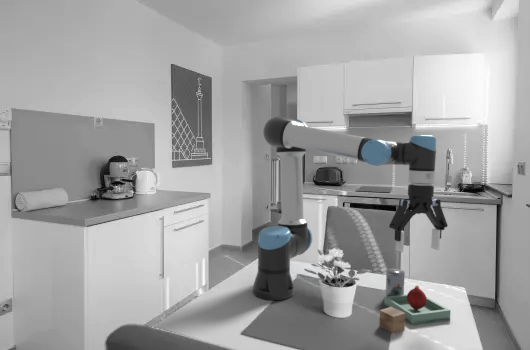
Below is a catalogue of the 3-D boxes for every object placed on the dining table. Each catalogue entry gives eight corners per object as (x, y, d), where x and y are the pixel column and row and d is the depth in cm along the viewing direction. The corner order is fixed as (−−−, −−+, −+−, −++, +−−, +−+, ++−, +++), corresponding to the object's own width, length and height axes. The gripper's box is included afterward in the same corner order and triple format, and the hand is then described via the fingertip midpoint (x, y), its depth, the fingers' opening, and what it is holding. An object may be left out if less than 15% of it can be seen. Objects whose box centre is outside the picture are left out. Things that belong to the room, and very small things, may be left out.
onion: (428, 314, 111) (429, 290, 110) (408, 313, 112) (409, 288, 111) (423, 307, 116) (424, 283, 116) (405, 305, 118) (405, 281, 117)
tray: (384, 305, 119) (384, 296, 119) (418, 301, 123) (419, 293, 123) (412, 324, 106) (412, 315, 105) (450, 319, 109) (450, 310, 109)
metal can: (382, 296, 127) (383, 269, 126) (396, 294, 129) (397, 268, 128) (392, 303, 121) (393, 274, 121) (407, 301, 123) (408, 273, 122)
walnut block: (379, 326, 105) (379, 310, 104) (390, 322, 107) (391, 306, 107) (393, 334, 100) (393, 316, 100) (404, 329, 103) (405, 313, 103)
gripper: (394, 185, 105) (391, 255, 106) (462, 185, 112) (458, 251, 113) (379, 183, 112) (376, 248, 113) (444, 183, 119) (440, 245, 120)
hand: (417, 250), depth 113 cm, fingers open, 13 cm apart
